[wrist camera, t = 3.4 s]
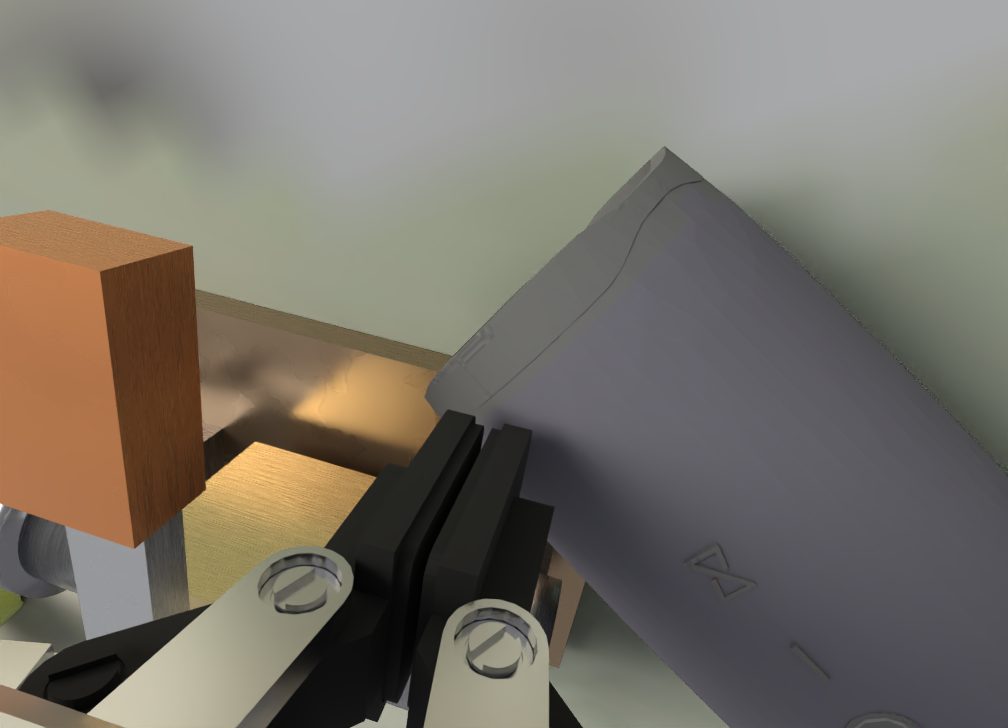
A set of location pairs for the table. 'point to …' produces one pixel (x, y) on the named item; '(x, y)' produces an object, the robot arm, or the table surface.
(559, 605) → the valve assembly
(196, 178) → the table surface
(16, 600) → the plant pot
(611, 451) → the bluetooth speaker
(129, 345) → the lever
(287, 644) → the robot arm
